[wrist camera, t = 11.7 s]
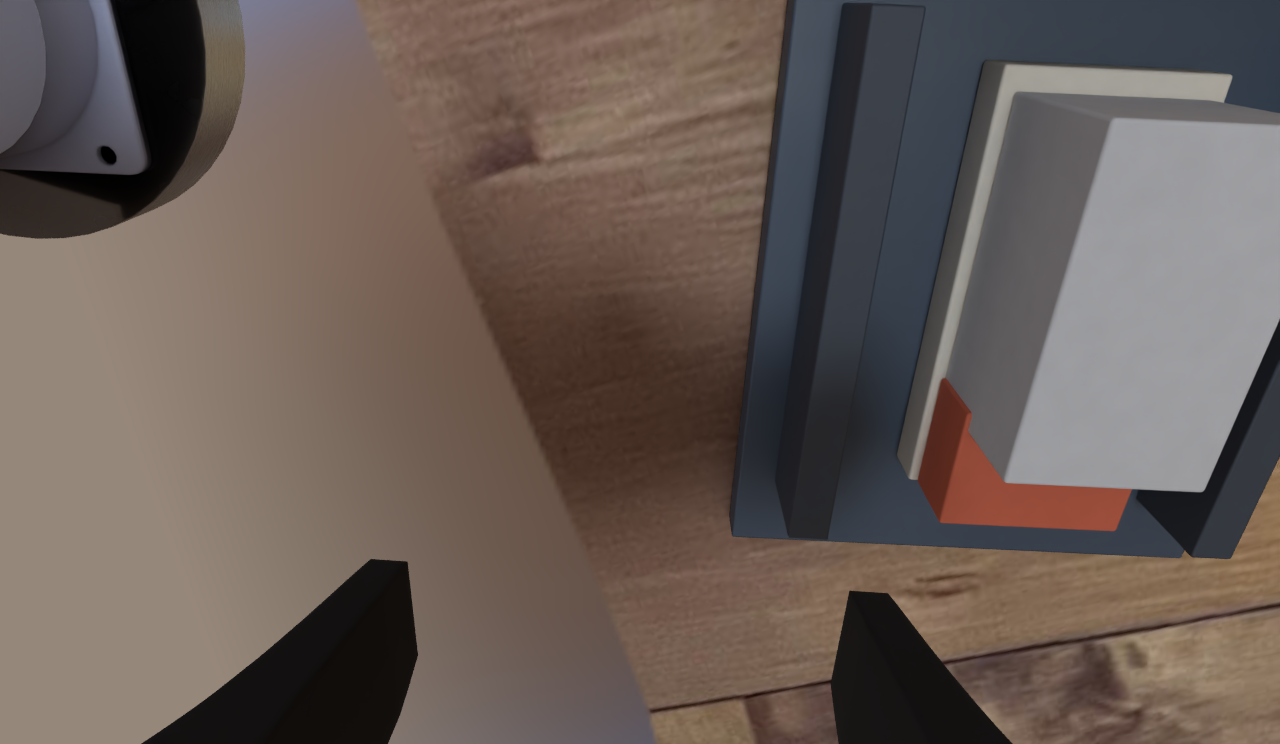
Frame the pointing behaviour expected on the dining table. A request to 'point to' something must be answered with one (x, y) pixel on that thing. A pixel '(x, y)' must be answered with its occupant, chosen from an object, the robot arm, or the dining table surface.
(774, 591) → the dining table surface
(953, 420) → the white box
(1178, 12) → the dark grey flat tray
